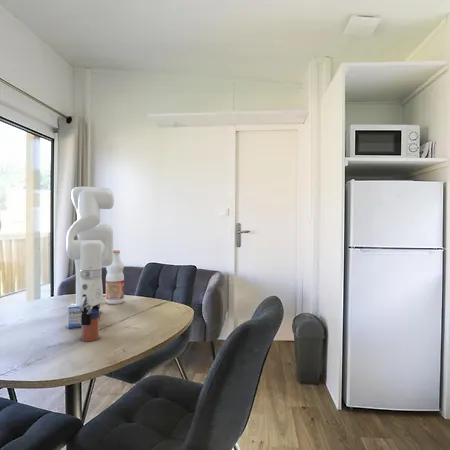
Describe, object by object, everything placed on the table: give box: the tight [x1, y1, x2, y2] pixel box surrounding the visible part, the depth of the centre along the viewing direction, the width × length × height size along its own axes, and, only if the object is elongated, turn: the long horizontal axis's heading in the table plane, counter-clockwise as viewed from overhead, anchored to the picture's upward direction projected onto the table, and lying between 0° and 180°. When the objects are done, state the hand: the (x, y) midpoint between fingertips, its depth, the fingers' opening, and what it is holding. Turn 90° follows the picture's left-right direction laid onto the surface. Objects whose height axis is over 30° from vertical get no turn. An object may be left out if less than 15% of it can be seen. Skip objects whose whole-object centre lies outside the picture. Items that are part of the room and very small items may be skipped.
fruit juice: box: [105, 249, 125, 305], centre depth 200 cm, size 9×9×28 cm
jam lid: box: [81, 309, 101, 319], centre depth 138 cm, size 7×7×2 cm
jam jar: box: [81, 317, 100, 342], centre depth 138 cm, size 6×6×10 cm
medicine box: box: [66, 304, 88, 329], centre depth 155 cm, size 8×4×9 cm, turn 117°
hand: (90, 321), depth 138 cm, fingers closed on jam lid, 6 cm apart
